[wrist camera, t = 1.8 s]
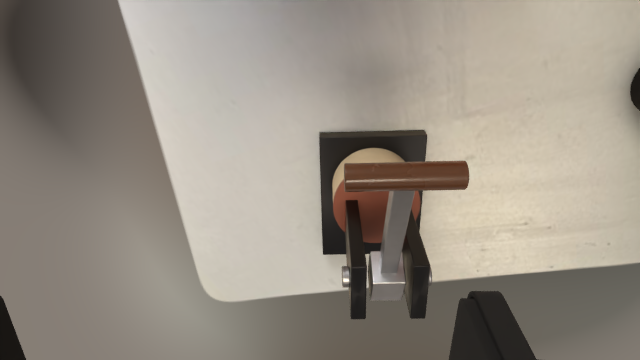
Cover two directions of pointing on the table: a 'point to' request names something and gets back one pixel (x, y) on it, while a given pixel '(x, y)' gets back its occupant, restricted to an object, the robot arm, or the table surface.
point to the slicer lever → (399, 211)
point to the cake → (366, 196)
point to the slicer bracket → (351, 242)
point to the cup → (636, 90)
